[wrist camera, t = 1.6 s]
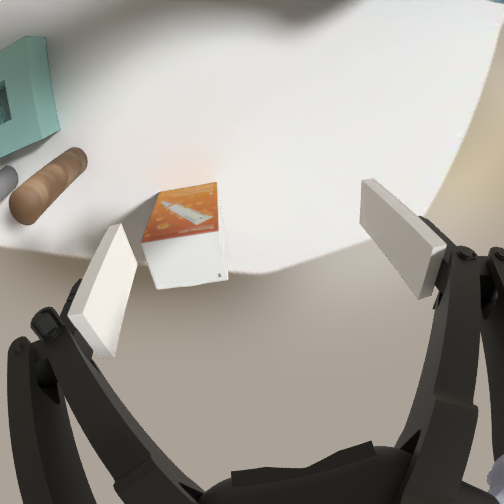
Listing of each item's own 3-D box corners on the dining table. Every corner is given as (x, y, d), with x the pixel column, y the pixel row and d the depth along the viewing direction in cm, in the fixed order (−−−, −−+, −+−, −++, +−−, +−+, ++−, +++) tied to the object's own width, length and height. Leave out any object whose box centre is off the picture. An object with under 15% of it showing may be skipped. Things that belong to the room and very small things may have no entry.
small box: (217, 180, 38) (220, 230, 28) (224, 221, 42) (229, 281, 31) (158, 190, 38) (138, 243, 27) (168, 230, 42) (156, 291, 31)
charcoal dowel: (-3, 169, 31) (-21, 182, 27) (13, 162, 31) (-5, 175, 27) (5, 192, 33) (-12, 206, 29) (21, 186, 33) (4, 200, 29)
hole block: (-23, 78, 21) (-43, 83, 17) (45, 37, 22) (26, 36, 18) (-6, 158, 30) (-25, 170, 25) (60, 129, 30) (42, 139, 26)
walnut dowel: (59, 151, 32) (3, 194, 21) (83, 144, 32) (30, 184, 21) (67, 177, 34) (17, 228, 23) (90, 171, 35) (44, 221, 23)
